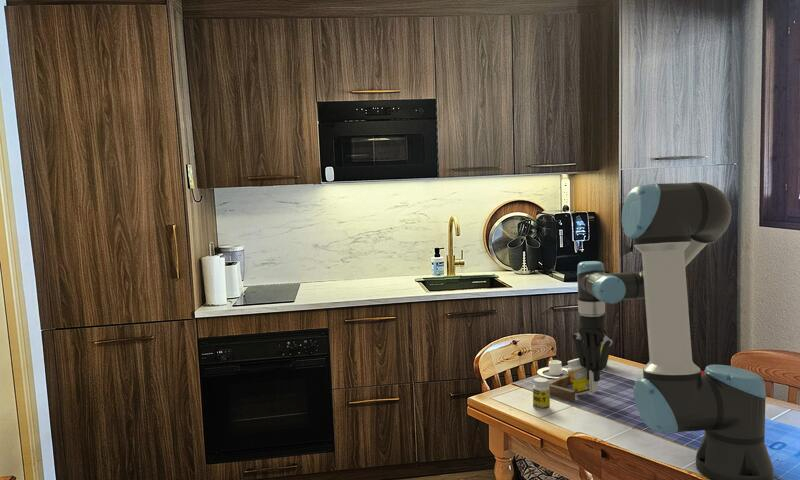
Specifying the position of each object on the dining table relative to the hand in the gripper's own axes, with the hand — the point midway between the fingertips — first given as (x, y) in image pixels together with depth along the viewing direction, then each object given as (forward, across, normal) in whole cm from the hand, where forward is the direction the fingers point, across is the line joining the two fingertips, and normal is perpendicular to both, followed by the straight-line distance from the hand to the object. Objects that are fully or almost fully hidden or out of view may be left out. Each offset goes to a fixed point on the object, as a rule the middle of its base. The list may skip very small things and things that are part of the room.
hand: (593, 391), depth 182 cm
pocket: (+2, +7, 0) cm, 8 cm away
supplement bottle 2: (+1, +3, 0) cm, 3 cm away
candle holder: (+3, +22, -11) cm, 25 cm away
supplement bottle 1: (+2, +7, +17) cm, 18 cm away
